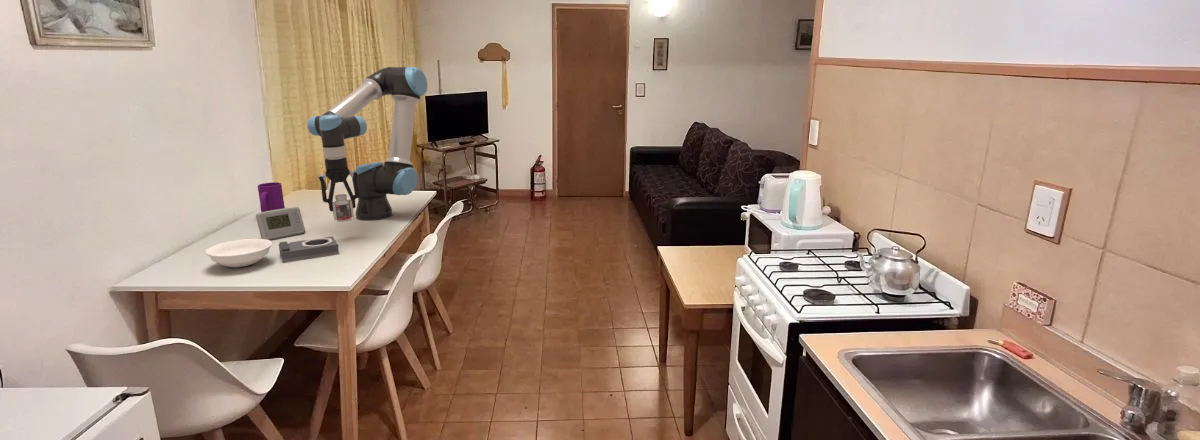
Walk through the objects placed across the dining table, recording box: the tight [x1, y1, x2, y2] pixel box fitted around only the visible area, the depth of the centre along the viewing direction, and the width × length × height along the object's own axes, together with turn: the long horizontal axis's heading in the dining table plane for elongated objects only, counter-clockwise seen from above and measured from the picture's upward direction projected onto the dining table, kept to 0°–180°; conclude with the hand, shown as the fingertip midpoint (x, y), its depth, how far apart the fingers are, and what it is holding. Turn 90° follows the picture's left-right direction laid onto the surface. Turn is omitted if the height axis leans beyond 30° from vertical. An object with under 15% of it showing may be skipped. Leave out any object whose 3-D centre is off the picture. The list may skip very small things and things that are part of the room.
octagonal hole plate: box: [278, 236, 340, 263], centre depth 226 cm, size 18×12×4 cm, turn 120°
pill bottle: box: [333, 193, 353, 223], centre depth 240 cm, size 5×5×10 cm
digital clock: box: [255, 206, 306, 241], centre depth 247 cm, size 16×9×11 cm, turn 122°
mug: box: [257, 182, 286, 212], centre depth 271 cm, size 9×16×15 cm, turn 8°
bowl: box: [204, 238, 273, 268], centre depth 215 cm, size 20×20×6 cm
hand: (344, 217), depth 242 cm, fingers closed on pill bottle, 5 cm apart
